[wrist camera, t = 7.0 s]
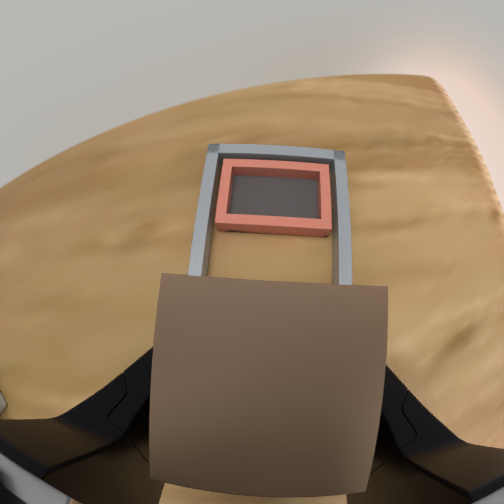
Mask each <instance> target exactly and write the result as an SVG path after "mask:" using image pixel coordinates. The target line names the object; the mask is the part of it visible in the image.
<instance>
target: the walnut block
mask: <svg viewBox="0 0 504 504" xmlns="http://www.w3.org/2000/svg"><path fill="white" fill-rule="evenodd" d="M387 328H388V286H364V285H338V284H317V283H297V282H279V281H263V280H247V279H232V278H218V277H205V276H192V275H180V274H168V273H162V275H161V283H160V290H159V298H158V306H157V315H156V324H155V334H154V346H153V358H152V372H151V390H150V418H149V465H150V479H153V480H157V481H161V482H165V483H169V484H174V485H178V486H183V487H188V488H193V489H199V490H205V491H211V492H218V493H226V494H235V495H245V496H260V497H317V496H331V495H342V494H351V493H359V492H365V491H366V488H367V484H368V480H369V476H370V471H371V467H372V462H373V457H374V452H375V446H376V441H377V435H378V429H379V422H380V415H381V408H382V399H383V390H384V380H385V368H386V352H387Z"/></svg>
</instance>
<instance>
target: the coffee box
mask: <svg viewBox="0 0 504 504" xmlns="http://www.w3.org/2000/svg"><path fill="white" fill-rule="evenodd" d="M6 406H7V404H6V402H5V400H4V398H3V396H2V394H1V392H0V414H1V413H2V412H3V410H4V409H5V407H6Z"/></svg>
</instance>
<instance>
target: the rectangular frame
mask: <svg viewBox="0 0 504 504" xmlns="http://www.w3.org/2000/svg"><path fill="white" fill-rule="evenodd" d="M215 225H216V227H217V229H218V231H228V232H247V233H265V234H282V235H298V236H314V237H328V235H329V233H330V232H331V230H332V223H331V195H330V177H329V165H328V164H317V163H305V162H292V161H276V160H254V159H224V160H223V166H222V173H221V180H220V187H219V194H218V201H217V209H216V216H215Z"/></svg>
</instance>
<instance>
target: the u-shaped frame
mask: <svg viewBox="0 0 504 504" xmlns="http://www.w3.org/2000/svg"><path fill="white" fill-rule="evenodd" d="M224 159H254V160H276V161H292V162H305V163H317V164H328V165H329V171H330V178H331V196H332V222H333V284H338V285H352V248H351V224H350V207H349V193H348V181H347V170H346V161H345V152H344V151H337V150H328V149H318V148H306V147H293V146H277V145H255V144H209V146H208V151H207V156H206V161H205V167H204V172H203V178H202V184H201V189H200V195H199V201H198V207H197V214H196V220H195V227H194V233H193V240H192V247H191V255H190V262H189V270H188V275H192V276H205V277H207V271H208V262H209V253H210V245H211V237H212V229H213V221H214V214H215V206H216V199H217V192H218V185H219V178H220V171H221V165H223V160H224Z"/></svg>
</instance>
